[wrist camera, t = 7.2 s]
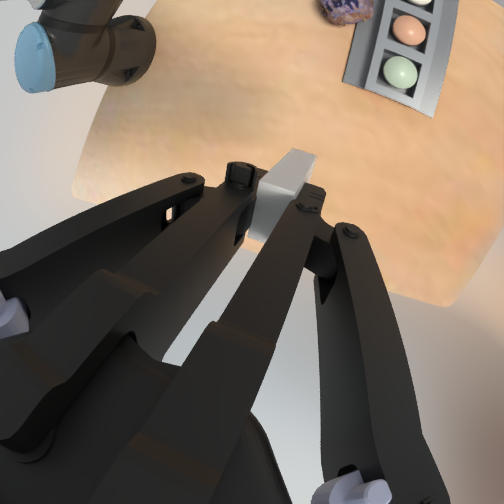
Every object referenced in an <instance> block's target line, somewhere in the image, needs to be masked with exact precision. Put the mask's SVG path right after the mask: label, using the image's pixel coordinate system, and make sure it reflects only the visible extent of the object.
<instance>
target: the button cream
mask: <svg viewBox="0 0 504 504" xmlns="http://www.w3.org/2000/svg"><path fill="white" fill-rule="evenodd" d="M406 1H407V2H409V3H410V4H412V5H415V6H419V7H423V6H426V5H428V4H429V3H430V1H431V0H406Z"/></svg>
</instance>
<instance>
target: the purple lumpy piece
mask: <svg viewBox="0 0 504 504" xmlns="http://www.w3.org/2000/svg"><path fill="white" fill-rule="evenodd" d="M373 2H374V1H373V0H320V5H321V6H322V7H323V8H324V11H323V12H322V13H323V14H324V16H325V17H327V18H328V19H329V20H330V21H331V22H332V23H334V24H336V25H339V24H340V25H342V26H345V24H349V23H355V22H358V21H361V20H362V21H363V22H366V21H367V19H369V20H371V18H372V16H373V14H374V12H373V11H374V10H375V8H374V3H373Z"/></svg>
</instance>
